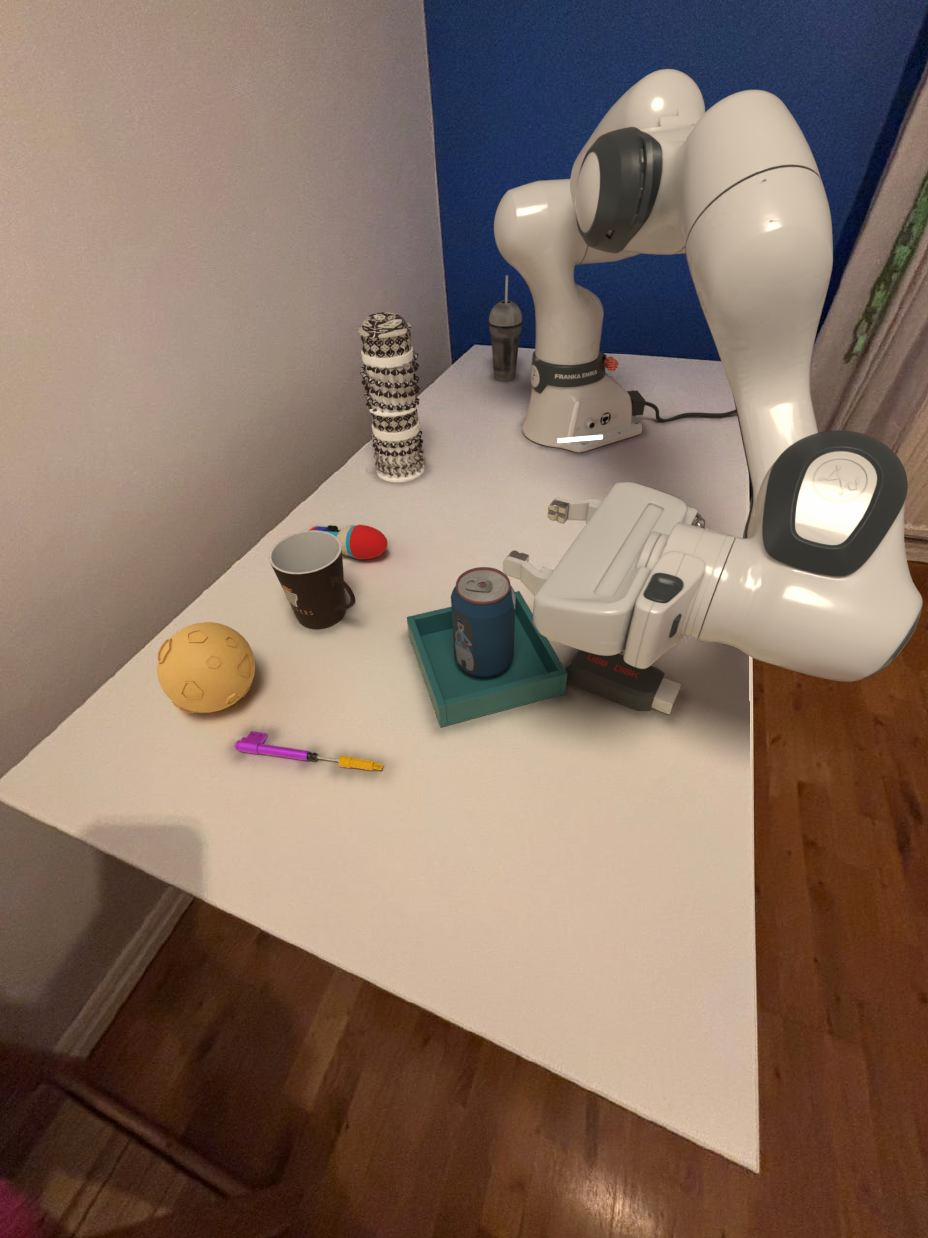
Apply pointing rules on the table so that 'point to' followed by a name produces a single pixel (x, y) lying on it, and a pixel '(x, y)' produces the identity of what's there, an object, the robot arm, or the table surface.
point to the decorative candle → (392, 396)
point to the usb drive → (622, 681)
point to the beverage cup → (505, 337)
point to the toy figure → (358, 540)
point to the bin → (470, 697)
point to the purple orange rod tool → (297, 752)
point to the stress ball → (205, 667)
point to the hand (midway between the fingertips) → (529, 533)
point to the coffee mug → (312, 577)
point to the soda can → (483, 622)
